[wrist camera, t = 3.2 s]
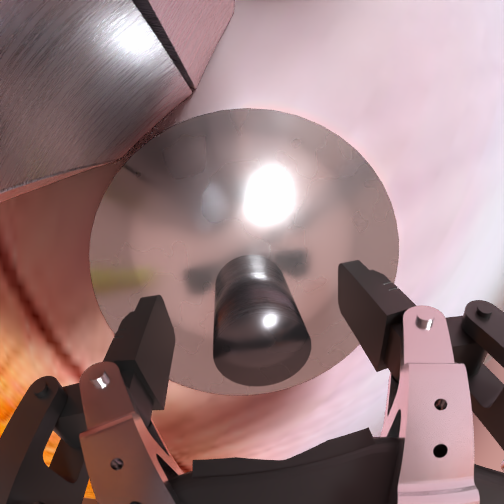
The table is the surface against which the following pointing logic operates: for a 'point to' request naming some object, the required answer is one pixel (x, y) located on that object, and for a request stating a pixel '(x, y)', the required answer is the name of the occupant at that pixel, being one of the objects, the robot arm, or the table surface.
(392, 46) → the table surface
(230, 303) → the lid
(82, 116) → the pot
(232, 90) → the table surface
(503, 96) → the table surface
